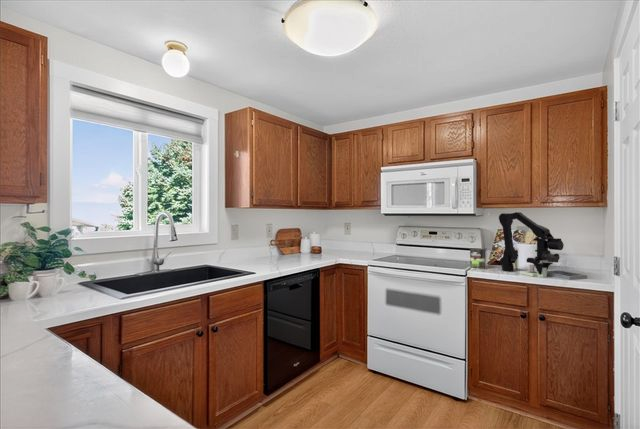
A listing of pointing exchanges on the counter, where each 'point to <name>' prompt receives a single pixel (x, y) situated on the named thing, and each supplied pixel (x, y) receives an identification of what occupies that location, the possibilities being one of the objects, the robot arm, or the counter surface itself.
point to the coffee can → (478, 258)
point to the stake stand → (531, 270)
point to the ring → (536, 273)
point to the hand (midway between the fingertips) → (542, 274)
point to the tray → (570, 277)
